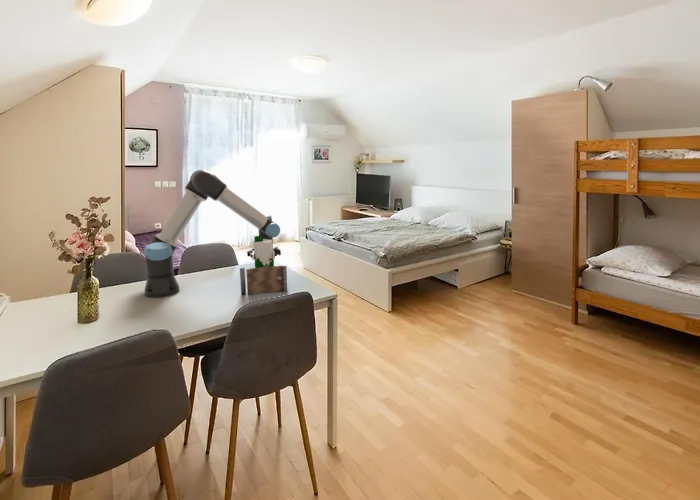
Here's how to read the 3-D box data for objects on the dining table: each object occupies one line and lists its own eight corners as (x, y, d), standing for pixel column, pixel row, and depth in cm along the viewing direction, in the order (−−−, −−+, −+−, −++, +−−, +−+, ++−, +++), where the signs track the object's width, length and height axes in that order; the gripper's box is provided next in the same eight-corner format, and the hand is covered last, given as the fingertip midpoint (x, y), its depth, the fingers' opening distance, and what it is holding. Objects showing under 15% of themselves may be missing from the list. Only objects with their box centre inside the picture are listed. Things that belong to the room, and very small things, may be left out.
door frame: (241, 295, 188) (239, 269, 185) (241, 294, 190) (239, 267, 187) (287, 291, 194) (286, 265, 191) (286, 290, 196) (285, 264, 193)
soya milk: (258, 273, 203) (255, 235, 199) (275, 273, 203) (274, 235, 199) (253, 278, 195) (251, 238, 190) (272, 278, 195) (270, 238, 190)
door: (248, 295, 187) (247, 270, 185) (247, 293, 191) (246, 268, 188) (286, 291, 194) (285, 267, 191) (284, 288, 197) (284, 265, 195)
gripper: (286, 253, 216) (286, 263, 195) (244, 254, 213) (240, 265, 191) (285, 239, 215) (286, 248, 193) (243, 240, 211) (239, 250, 190)
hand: (263, 256), depth 192 cm, fingers closed on soya milk, 9 cm apart
